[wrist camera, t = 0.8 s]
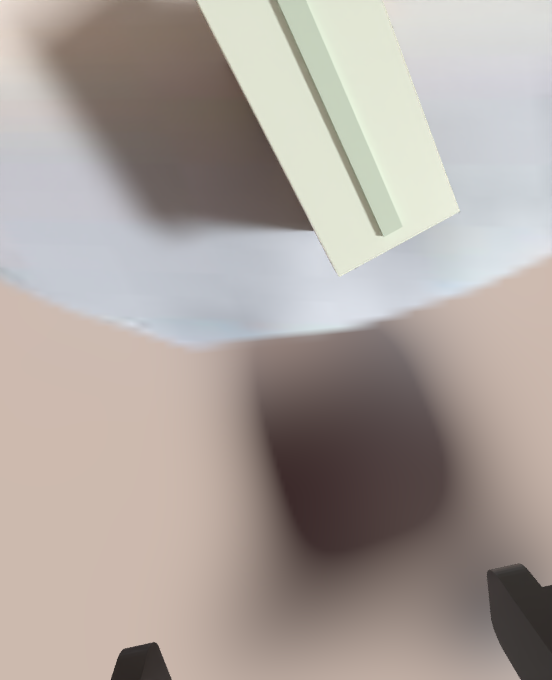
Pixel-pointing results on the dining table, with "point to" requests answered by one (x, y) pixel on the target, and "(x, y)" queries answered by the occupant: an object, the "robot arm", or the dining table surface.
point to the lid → (338, 118)
